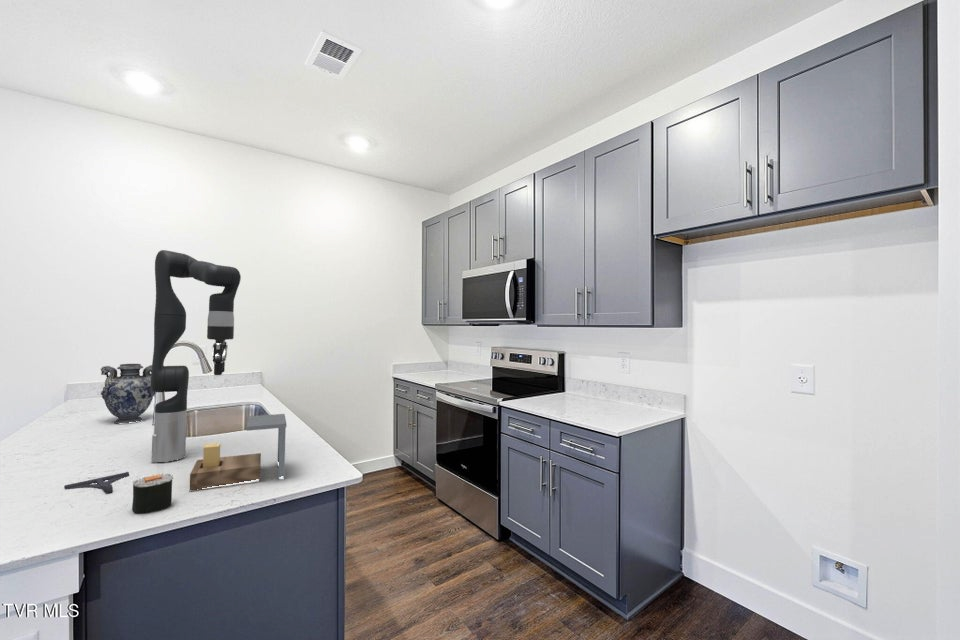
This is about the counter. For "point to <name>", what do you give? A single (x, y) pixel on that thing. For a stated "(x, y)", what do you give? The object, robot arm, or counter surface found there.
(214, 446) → the peg
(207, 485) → the socket block
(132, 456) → the counter surface
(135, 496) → the sushi
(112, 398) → the decorative vase
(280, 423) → the panel
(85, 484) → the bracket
